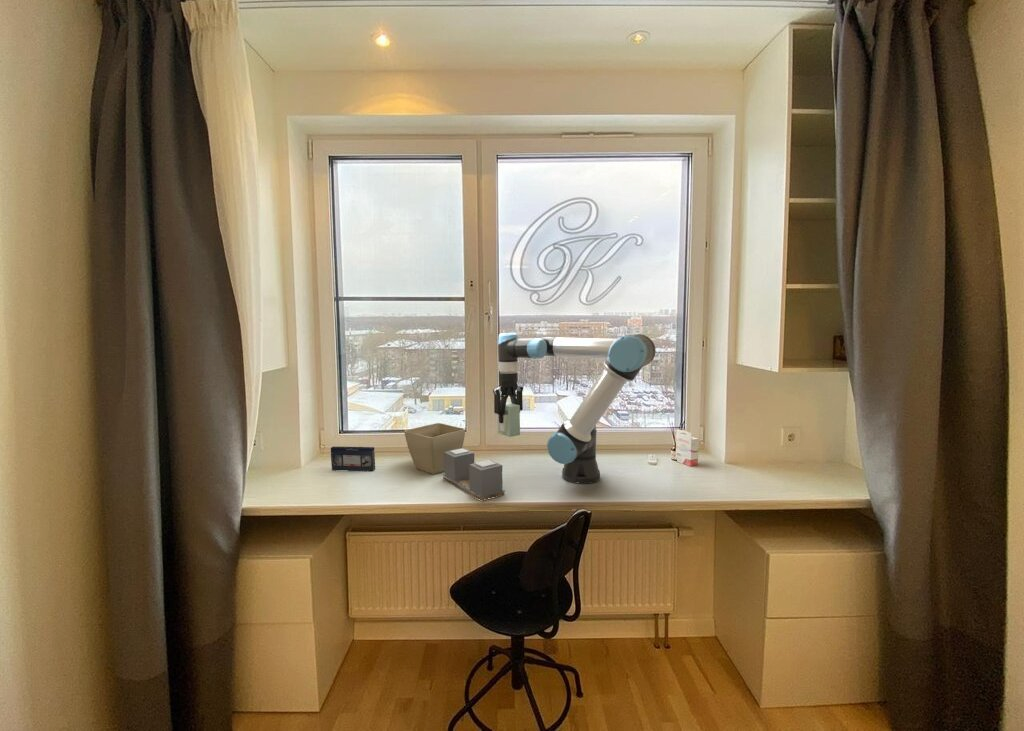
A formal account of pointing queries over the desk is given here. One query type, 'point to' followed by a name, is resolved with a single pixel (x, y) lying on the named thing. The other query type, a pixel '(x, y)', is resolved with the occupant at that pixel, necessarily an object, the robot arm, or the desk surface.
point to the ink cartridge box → (686, 448)
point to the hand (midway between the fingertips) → (508, 429)
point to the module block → (511, 420)
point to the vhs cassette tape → (353, 458)
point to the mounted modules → (474, 472)
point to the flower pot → (433, 445)
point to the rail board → (465, 487)
